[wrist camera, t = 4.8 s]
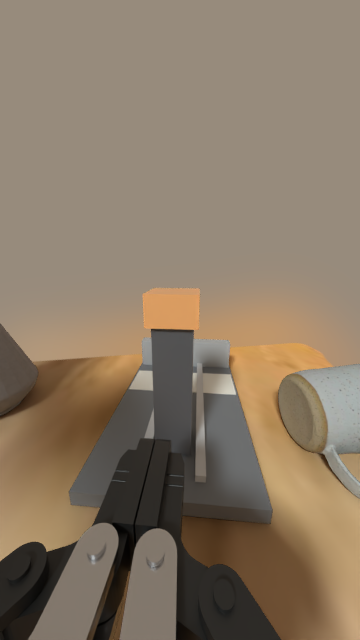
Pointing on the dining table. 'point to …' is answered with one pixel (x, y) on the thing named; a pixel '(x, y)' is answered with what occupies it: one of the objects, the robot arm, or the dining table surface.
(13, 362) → the coffee pot
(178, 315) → the fader
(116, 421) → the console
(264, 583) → the dining table surface
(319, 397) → the ceramic mug
